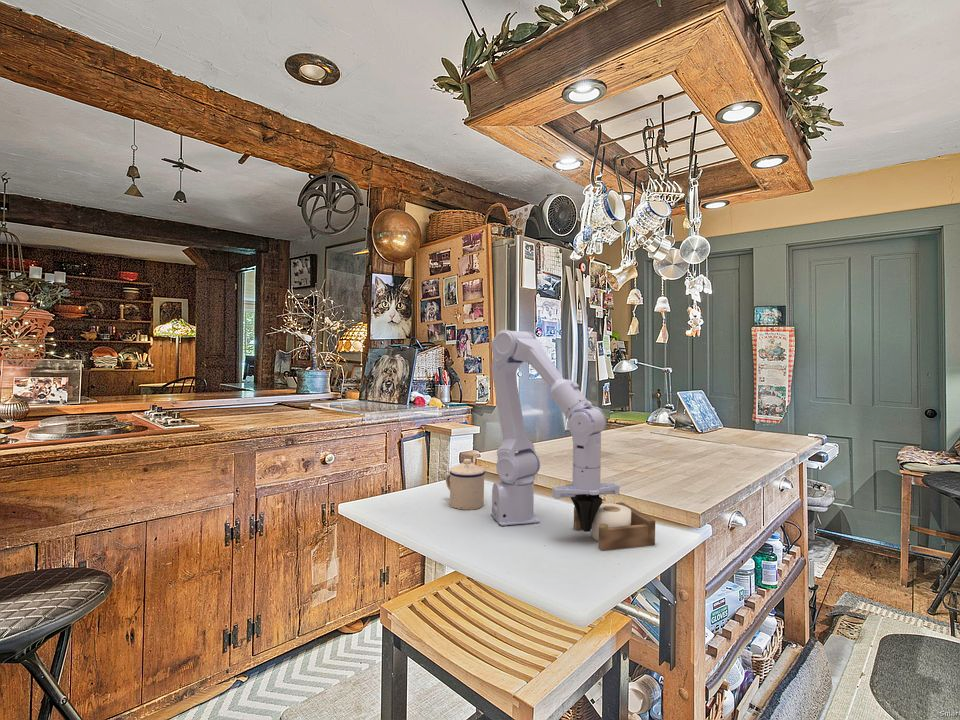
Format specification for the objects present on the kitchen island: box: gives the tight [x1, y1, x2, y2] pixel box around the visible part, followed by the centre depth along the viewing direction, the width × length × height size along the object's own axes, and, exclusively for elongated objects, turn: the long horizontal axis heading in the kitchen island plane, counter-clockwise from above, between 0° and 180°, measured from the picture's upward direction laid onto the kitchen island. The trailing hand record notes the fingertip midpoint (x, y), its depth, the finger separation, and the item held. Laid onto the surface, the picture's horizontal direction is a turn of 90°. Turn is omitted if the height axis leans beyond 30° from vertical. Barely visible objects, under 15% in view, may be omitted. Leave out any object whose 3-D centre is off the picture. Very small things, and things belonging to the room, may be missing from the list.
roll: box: [591, 502, 631, 542], centre depth 103 cm, size 8×8×6 cm
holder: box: [573, 501, 656, 552], centre depth 104 cm, size 12×13×5 cm
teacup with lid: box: [445, 458, 486, 511], centre depth 125 cm, size 12×9×12 cm
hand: (585, 530), depth 102 cm, fingers closed
